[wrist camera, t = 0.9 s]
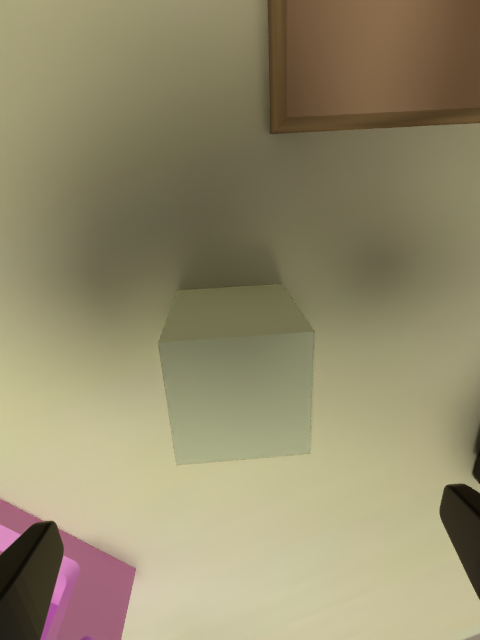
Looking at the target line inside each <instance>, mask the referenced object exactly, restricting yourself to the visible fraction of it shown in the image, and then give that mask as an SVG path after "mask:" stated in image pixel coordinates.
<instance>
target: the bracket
mask: <svg viewBox="0 0 480 640" xmlns="http://www.w3.org/2000/svg"><path fill="white" fill-rule="evenodd" d="M36 522H43V521H42V520H40V519H38V518H36V517H34V516H32V515H30V514H28V513H26V512H24V511H22V510H20V509H18V508H17V507H15V506H13V505H11V504H9V503H7V502H5V501H3V500H1V499H0V554H1V553H2V552H4V551H5V550H6V549H7V548H8V547H9V546H10V545H11V544H12V543H13V542H14V541H15V540H16V539H17V538H18V537H19V536H21V535H22V534H23V533H24V532H25V531H26V530H27V529H28V528H29V527H30V526H31V525H33V524H34V523H36ZM58 530H59V529H58ZM59 533H60V536H61V539H62V542H63V545H64V554H63V559H62V563H61V567H60V570H59V574H58V578H57V581H56V585H55V589H54V593H53V596H52V600H51V604H50V607H49V611H48V615H47V619H46V622H45V626H44V629H43V633H42V636H41V640H121V637H122V632H123V627H124V623H125V618H126V613H127V609H128V604H129V599H130V595H131V590H132V585H133V580H134V576H135V571H136V569H135V568H133V567H131V566H129V565H127V564H125V563H124V562H122V561H120V560H118V559H116V558H114V557H112V556H110V555H108V554H106V553H104V552H102V551H100V550H98V549H96V548H94V547H92V546H90V545H89V544H87V543H85V542H83V541H81V540H79V539H77V538H75V537H73V536H71V535H69V534H67V533H65V532H63V531H61V530H59Z"/></svg>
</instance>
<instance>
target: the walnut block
mask: <svg viewBox="0 0 480 640" xmlns="http://www.w3.org/2000/svg"><path fill="white" fill-rule="evenodd" d="M268 30H269V81H270V132H271V134H279V133H298V132H316V131H335V130H354V129H373V128H392V127H411V126H430V125H449V124H468V123H480V0H268Z"/></svg>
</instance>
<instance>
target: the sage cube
mask: <svg viewBox="0 0 480 640" xmlns="http://www.w3.org/2000/svg"><path fill="white" fill-rule="evenodd" d="M158 345H159V352H160V358H161V365H162V372H163V379H164V385H165V392H166V399H167V406H168V412H169V419H170V426H171V433H172V439H173V446H174V453H175V460H176V465H186V464H198V463H210V462H222V461H233V460H245V459H257V458H269V457H280V456H292V455H304V454H310V443H311V415H312V386H313V357H314V330H313V329H312V327H311V326H310V325H309V323H308V322H307V320H306V319H305V317H304V316H303V314H302V313H301V311H300V310H299V308H298V307H297V306H296V304H295V303H294V301H293V300H292V298H291V297H290V295H289V294H288V292H287V291H286V289H285V288H284V287H283V285H282V284H269V285H253V286H237V287H221V288H205V289H190V290H178V292H177V294H176V297H175V299H174V302H173V305H172V307H171V310H170V313H169V315H168V318H167V321H166V323H165V326H164V328H163V331H162V334H161V336H160V339H159V342H158Z"/></svg>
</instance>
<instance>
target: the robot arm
mask: <svg viewBox="0 0 480 640" xmlns="http://www.w3.org/2000/svg"><path fill="white" fill-rule="evenodd" d="M474 478H475V479H476V480H477V482H478V483H479V484H480V454H479V458H478V462H477V465H476V469H475V473H474ZM440 517H441V520H442V523H443V525H444V527H445V529H446V531H447V533H448V535H449V537H450V540H451V542H452V544H453V546H454V548H455V550H456V552H457V554H458V556H459V559H460V561H461V563H462V565H463V567H464V569H465V571H466V573H467V575H468V578H469V580H470V582H471V584H472V586H473V588H474V590H475V592H476V594H477V596H478V597H479V599H480V493H479V492H477V491H475V490H474V489H472V488H471V487H469V486H467V485H465V484H449V485H446V486H445V488H444V491H443V496H442V500H441V505H440ZM63 554H64V545H63V542H62V539H61V536H60V533H59V530H58V527H57V525H56V523H55V522H54V521H43V522H36V523H34V524H33V525H31V526H30V527H29V528H28V529H27V530H26V531H25V532H24V533H23V534H22V535H21V536H19V537H18V538H17V539H16V540H15V541H14V542H13V543H12V544H11V545H10V546H9V547H8V548H7V549H6V550H5V551H4V552H2V553H1V554H0V640H41V636H42V633H43V629H44V626H45V622H46V619H47V615H48V611H49V607H50V604H51V600H52V596H53V593H54V589H55V585H56V581H57V578H58V574H59V570H60V567H61V563H62V559H63Z"/></svg>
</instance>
